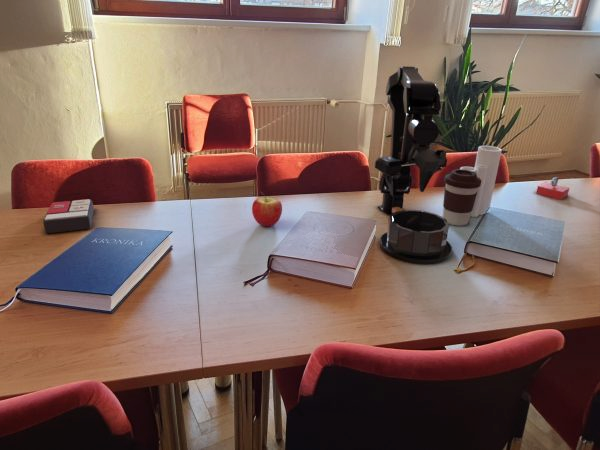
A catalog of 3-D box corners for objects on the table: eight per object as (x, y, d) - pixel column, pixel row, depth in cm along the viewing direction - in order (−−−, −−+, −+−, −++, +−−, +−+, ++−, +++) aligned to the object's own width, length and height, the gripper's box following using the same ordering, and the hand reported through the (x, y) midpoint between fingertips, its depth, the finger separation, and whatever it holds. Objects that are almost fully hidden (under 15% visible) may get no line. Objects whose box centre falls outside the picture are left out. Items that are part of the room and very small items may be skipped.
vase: (478, 205, 143) (490, 145, 135) (494, 214, 137) (508, 150, 129) (449, 209, 139) (460, 147, 131) (464, 218, 133) (477, 153, 125)
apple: (249, 220, 128) (248, 187, 124) (277, 217, 131) (277, 185, 127) (255, 231, 121) (255, 197, 117) (285, 228, 123) (286, 194, 119)
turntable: (366, 238, 119) (367, 234, 118) (421, 228, 126) (422, 224, 125) (406, 269, 104) (407, 265, 103) (466, 257, 110) (467, 252, 110)
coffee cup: (475, 229, 126) (485, 179, 120) (439, 226, 128) (447, 176, 121) (470, 216, 135) (479, 169, 129) (436, 213, 136) (444, 166, 130)
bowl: (370, 231, 120) (372, 209, 117) (414, 224, 125) (417, 203, 123) (408, 260, 106) (412, 236, 103) (456, 250, 111) (460, 227, 108)
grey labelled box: (91, 197, 131) (88, 213, 118) (94, 211, 133) (90, 228, 120) (50, 201, 128) (41, 218, 115) (53, 215, 129) (45, 233, 116)
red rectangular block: (536, 193, 156) (540, 176, 153) (543, 189, 160) (547, 172, 157) (560, 199, 150) (565, 182, 148) (567, 195, 155) (572, 178, 152)
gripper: (403, 145, 100) (395, 209, 106) (467, 139, 107) (456, 199, 113) (376, 134, 109) (370, 194, 116) (436, 129, 116) (428, 185, 123)
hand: (407, 193), depth 117 cm, fingers open, 9 cm apart
